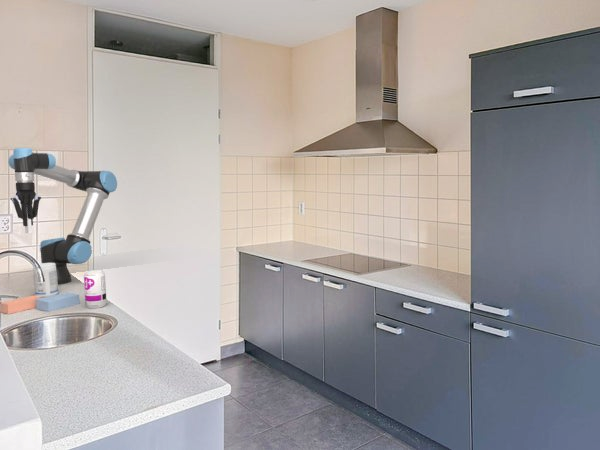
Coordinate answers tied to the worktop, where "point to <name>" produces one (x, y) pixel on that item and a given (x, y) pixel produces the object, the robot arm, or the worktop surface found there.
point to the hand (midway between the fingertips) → (28, 233)
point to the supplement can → (95, 289)
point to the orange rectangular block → (19, 304)
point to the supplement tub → (46, 281)
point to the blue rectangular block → (57, 301)
